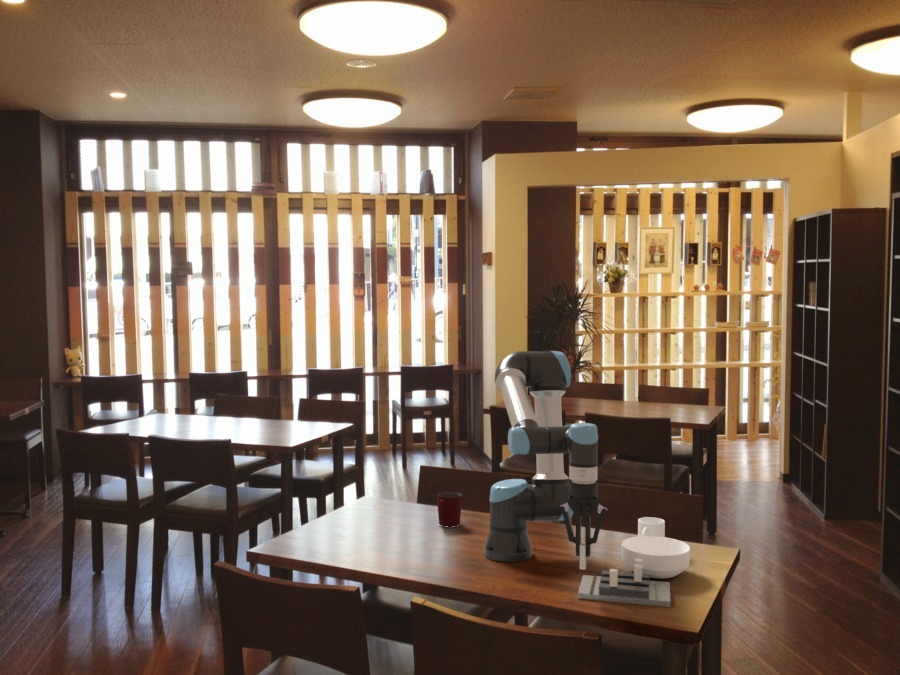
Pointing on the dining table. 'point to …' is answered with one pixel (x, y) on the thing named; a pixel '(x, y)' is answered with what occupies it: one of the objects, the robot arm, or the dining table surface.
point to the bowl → (656, 555)
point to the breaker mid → (637, 573)
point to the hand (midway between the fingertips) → (582, 567)
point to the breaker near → (613, 577)
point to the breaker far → (638, 561)
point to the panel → (625, 599)
